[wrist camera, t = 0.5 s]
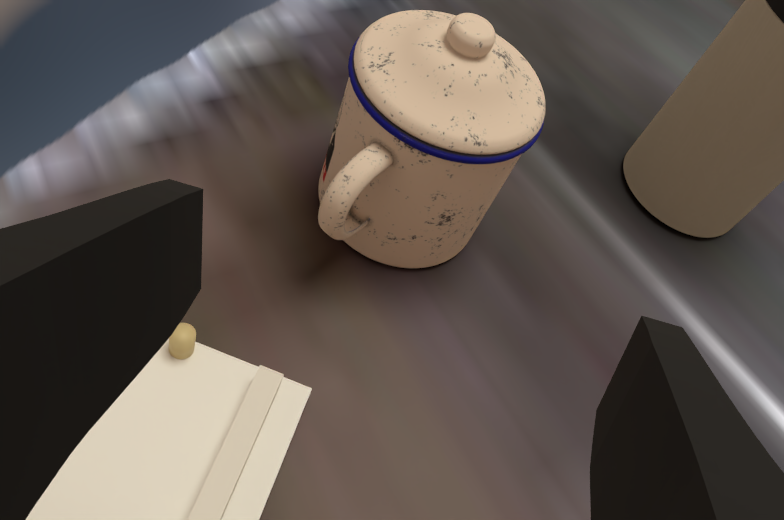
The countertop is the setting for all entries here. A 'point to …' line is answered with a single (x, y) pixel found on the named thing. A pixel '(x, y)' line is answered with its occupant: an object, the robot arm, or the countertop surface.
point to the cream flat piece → (181, 442)
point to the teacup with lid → (425, 136)
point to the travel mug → (718, 130)
